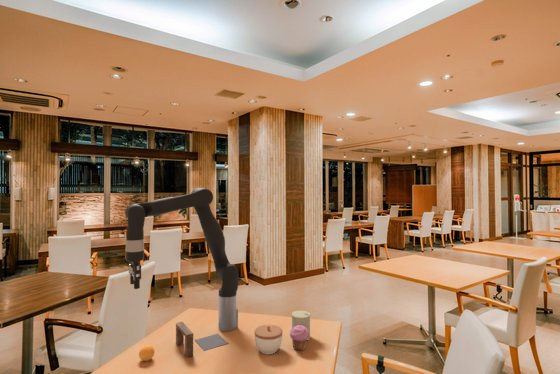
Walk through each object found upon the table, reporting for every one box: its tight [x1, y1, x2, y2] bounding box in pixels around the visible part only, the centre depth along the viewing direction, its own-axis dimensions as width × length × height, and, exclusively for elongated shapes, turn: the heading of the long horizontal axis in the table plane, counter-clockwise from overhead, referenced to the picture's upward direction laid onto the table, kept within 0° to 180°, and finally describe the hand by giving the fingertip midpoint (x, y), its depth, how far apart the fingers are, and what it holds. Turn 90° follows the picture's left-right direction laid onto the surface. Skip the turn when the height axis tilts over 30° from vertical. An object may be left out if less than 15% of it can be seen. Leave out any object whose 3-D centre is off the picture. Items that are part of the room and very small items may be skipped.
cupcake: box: [289, 325, 309, 351], centre depth 148 cm, size 9×9×10 cm
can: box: [291, 310, 311, 340], centre depth 159 cm, size 9×9×12 cm
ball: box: [138, 344, 155, 362], centre depth 137 cm, size 6×6×6 cm
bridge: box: [175, 321, 194, 359], centre depth 146 cm, size 3×15×10 cm, turn 35°
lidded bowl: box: [254, 324, 284, 355], centre depth 146 cm, size 13×13×11 cm
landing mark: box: [194, 333, 229, 351], centre depth 154 cm, size 12×12×1 cm
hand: (134, 286), depth 144 cm, fingers open, 8 cm apart
